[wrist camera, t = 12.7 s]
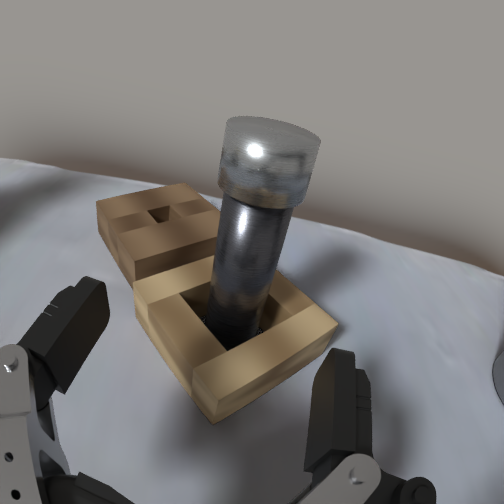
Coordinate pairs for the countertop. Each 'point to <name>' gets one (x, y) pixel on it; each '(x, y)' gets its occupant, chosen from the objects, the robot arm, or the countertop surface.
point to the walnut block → (157, 229)
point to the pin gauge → (254, 218)
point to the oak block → (209, 348)
